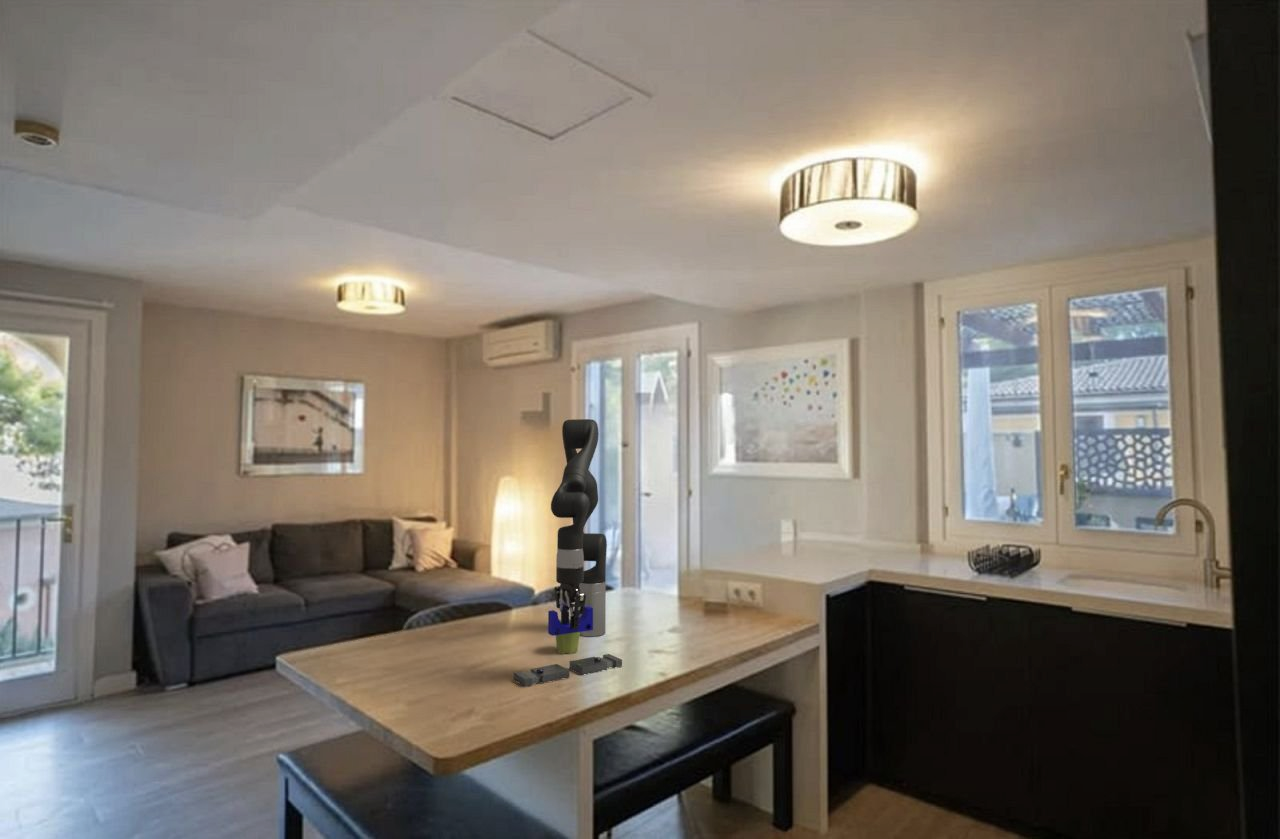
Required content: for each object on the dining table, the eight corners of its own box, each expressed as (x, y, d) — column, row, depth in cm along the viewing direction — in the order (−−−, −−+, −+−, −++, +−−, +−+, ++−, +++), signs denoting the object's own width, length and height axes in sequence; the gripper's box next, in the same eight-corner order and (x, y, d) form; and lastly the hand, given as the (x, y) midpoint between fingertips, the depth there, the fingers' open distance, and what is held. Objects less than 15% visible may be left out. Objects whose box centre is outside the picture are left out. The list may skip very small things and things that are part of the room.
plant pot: (589, 651, 212) (589, 622, 212) (566, 657, 205) (566, 627, 206) (569, 645, 218) (569, 617, 219) (545, 651, 211) (545, 622, 212)
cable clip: (586, 626, 196) (586, 604, 196) (592, 630, 192) (593, 608, 192) (546, 631, 190) (546, 609, 191) (552, 635, 186) (552, 613, 187)
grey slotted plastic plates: (513, 679, 185) (513, 670, 185) (608, 660, 202) (608, 651, 202) (525, 687, 179) (525, 676, 179) (622, 666, 196) (622, 657, 196)
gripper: (545, 562, 196) (545, 624, 195) (570, 569, 184) (570, 634, 183) (569, 560, 200) (568, 620, 199) (595, 567, 188) (594, 630, 187)
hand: (569, 627), depth 191 cm, fingers closed on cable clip, 4 cm apart
